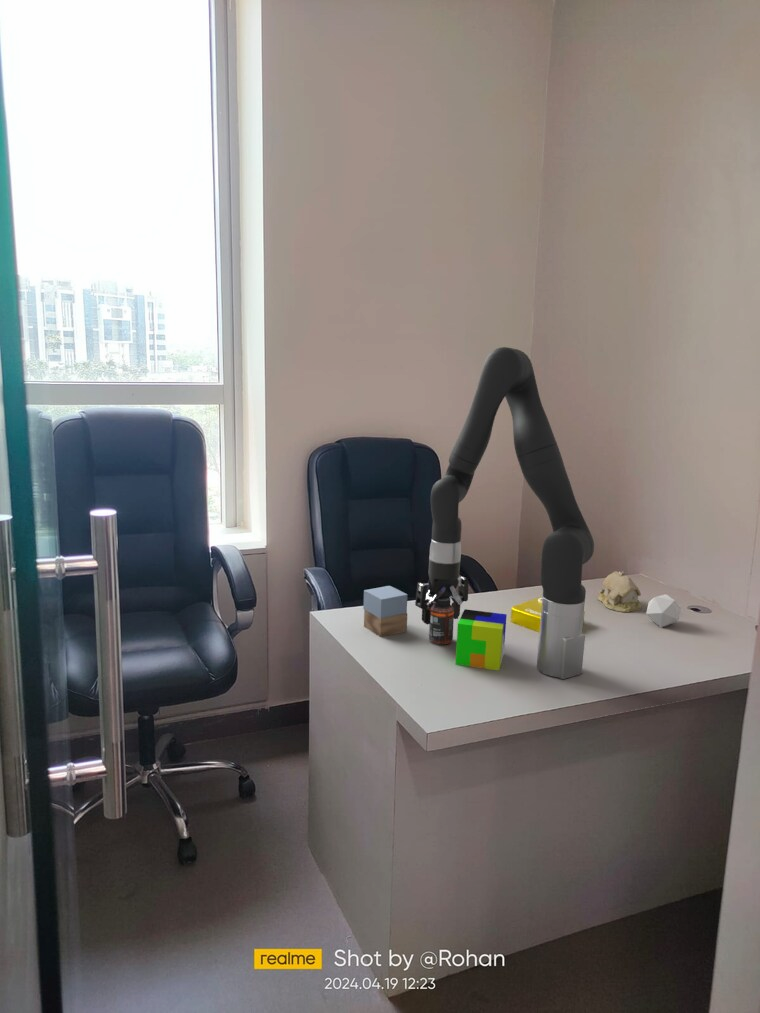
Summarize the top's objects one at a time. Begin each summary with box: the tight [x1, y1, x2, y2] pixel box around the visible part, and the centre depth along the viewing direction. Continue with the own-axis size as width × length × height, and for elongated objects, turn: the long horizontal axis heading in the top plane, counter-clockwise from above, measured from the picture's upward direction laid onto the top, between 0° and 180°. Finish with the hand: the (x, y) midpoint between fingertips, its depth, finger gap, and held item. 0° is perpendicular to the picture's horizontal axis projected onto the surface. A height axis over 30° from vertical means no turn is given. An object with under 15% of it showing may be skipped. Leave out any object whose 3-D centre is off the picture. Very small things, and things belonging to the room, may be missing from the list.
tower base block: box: [363, 609, 408, 638], centre depth 186 cm, size 8×8×5 cm
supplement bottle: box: [428, 598, 455, 645], centre depth 179 cm, size 6×6×11 cm
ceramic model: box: [598, 570, 642, 613], centre depth 210 cm, size 14×11×10 cm
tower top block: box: [363, 585, 408, 618], centre depth 185 cm, size 8×8×5 cm
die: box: [645, 593, 682, 628], centre depth 195 cm, size 8×9×10 cm
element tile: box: [509, 596, 586, 634], centre depth 194 cm, size 15×15×5 cm
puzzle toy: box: [455, 608, 507, 671], centre depth 169 cm, size 10×10×10 cm
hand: (440, 620), depth 179 cm, fingers open, 8 cm apart
